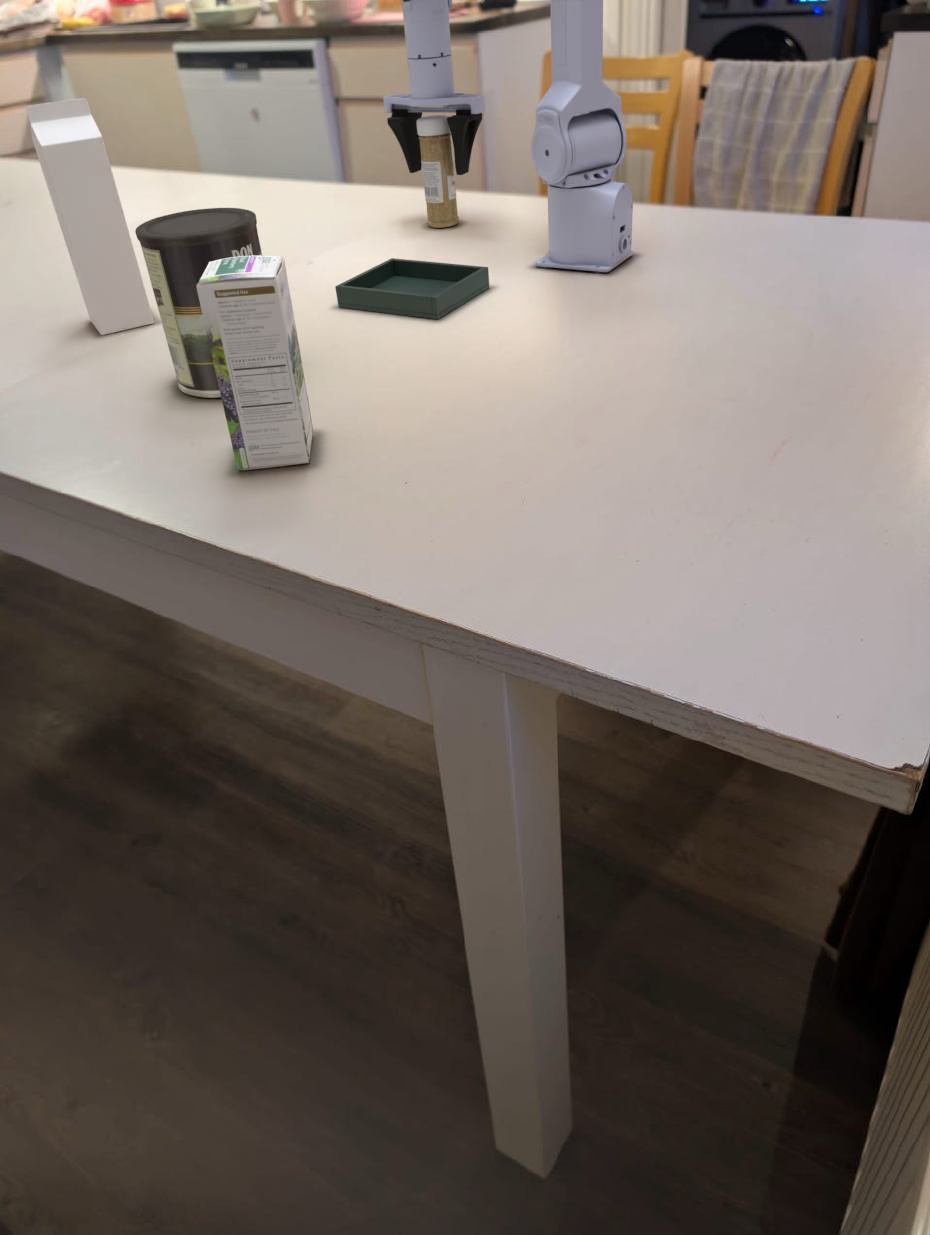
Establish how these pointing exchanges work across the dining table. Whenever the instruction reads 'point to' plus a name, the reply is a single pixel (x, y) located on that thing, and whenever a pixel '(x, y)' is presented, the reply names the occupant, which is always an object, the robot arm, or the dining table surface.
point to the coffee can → (192, 281)
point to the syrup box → (257, 360)
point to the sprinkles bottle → (438, 171)
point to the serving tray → (413, 288)
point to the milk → (90, 214)
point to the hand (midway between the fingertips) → (438, 172)
